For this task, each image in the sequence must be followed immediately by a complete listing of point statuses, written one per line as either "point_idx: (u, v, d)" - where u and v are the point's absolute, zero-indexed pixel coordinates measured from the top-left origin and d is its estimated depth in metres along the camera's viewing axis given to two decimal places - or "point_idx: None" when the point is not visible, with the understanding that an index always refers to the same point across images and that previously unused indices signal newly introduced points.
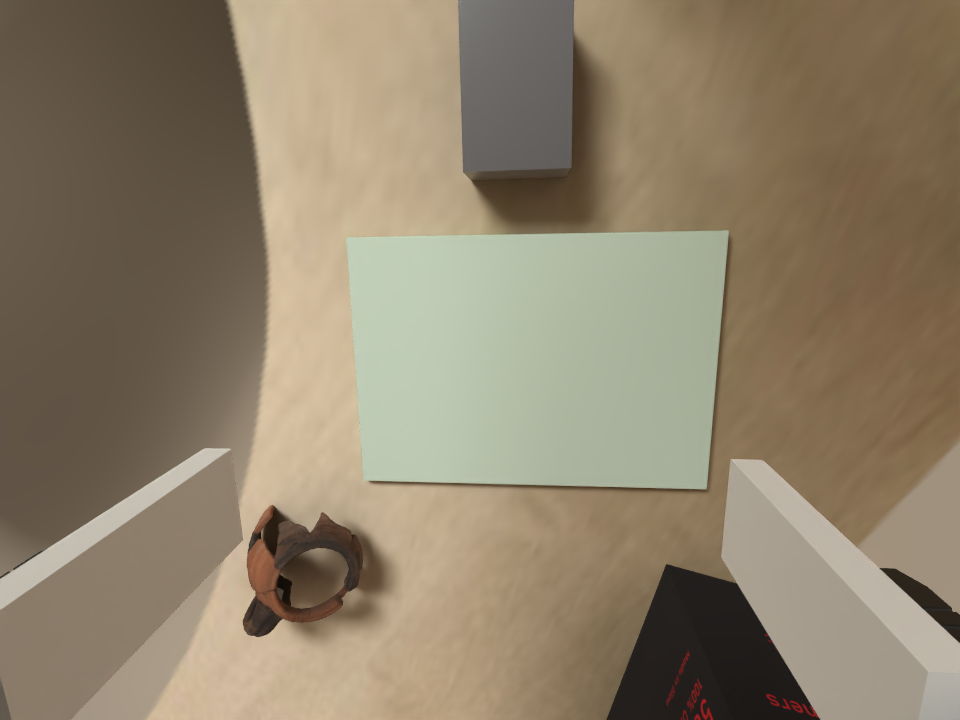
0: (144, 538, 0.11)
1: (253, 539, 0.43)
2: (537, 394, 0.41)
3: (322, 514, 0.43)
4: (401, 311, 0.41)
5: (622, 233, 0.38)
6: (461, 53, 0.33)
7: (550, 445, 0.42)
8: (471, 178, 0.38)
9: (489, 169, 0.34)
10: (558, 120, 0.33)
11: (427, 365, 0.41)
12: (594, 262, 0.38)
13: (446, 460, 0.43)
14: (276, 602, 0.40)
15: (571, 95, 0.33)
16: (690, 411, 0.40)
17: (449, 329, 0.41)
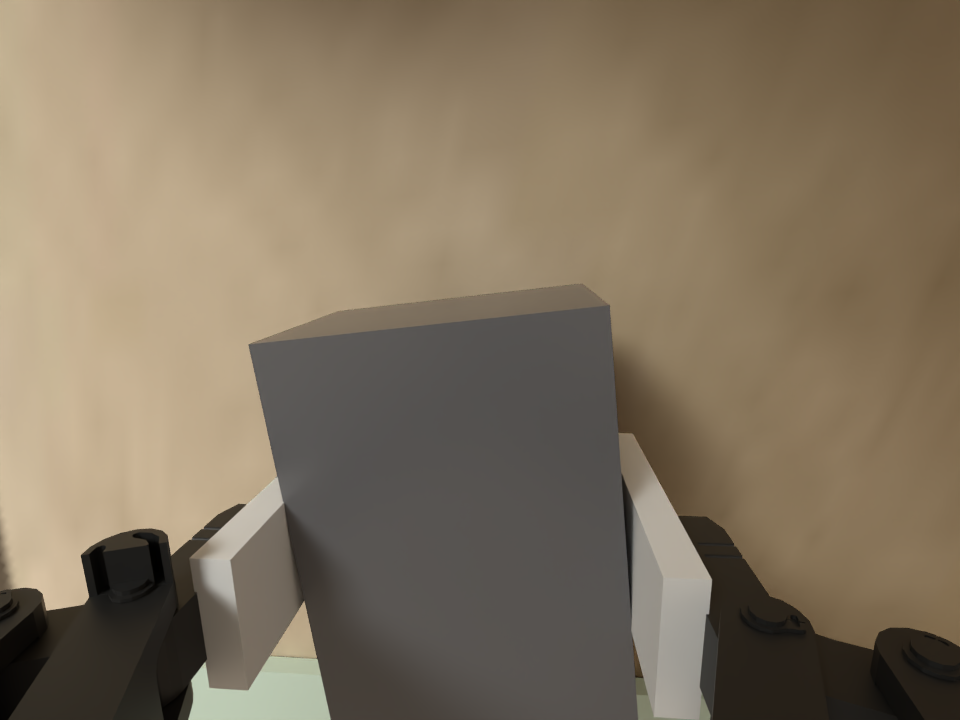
0: None
1: None
2: None
3: None
4: None
5: None
6: (283, 483, 0.11)
7: None
8: None
9: None
10: (591, 643, 0.11)
11: None
12: None
13: None
14: None
15: (625, 583, 0.11)
16: None
17: None
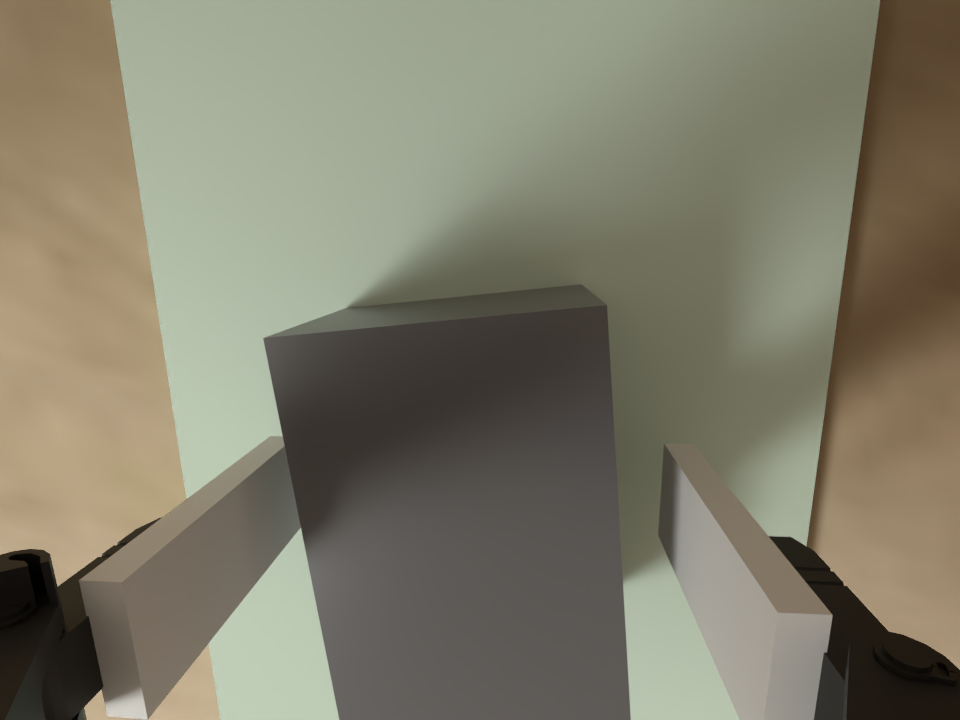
0: (232, 516, 0.12)
1: None
2: None
3: None
4: None
5: (150, 249, 0.16)
6: (294, 471, 0.11)
7: (699, 412, 0.15)
8: None
9: None
10: (585, 627, 0.12)
11: None
12: (222, 312, 0.16)
13: None
14: None
15: (619, 569, 0.11)
16: (610, 12, 0.13)
17: None
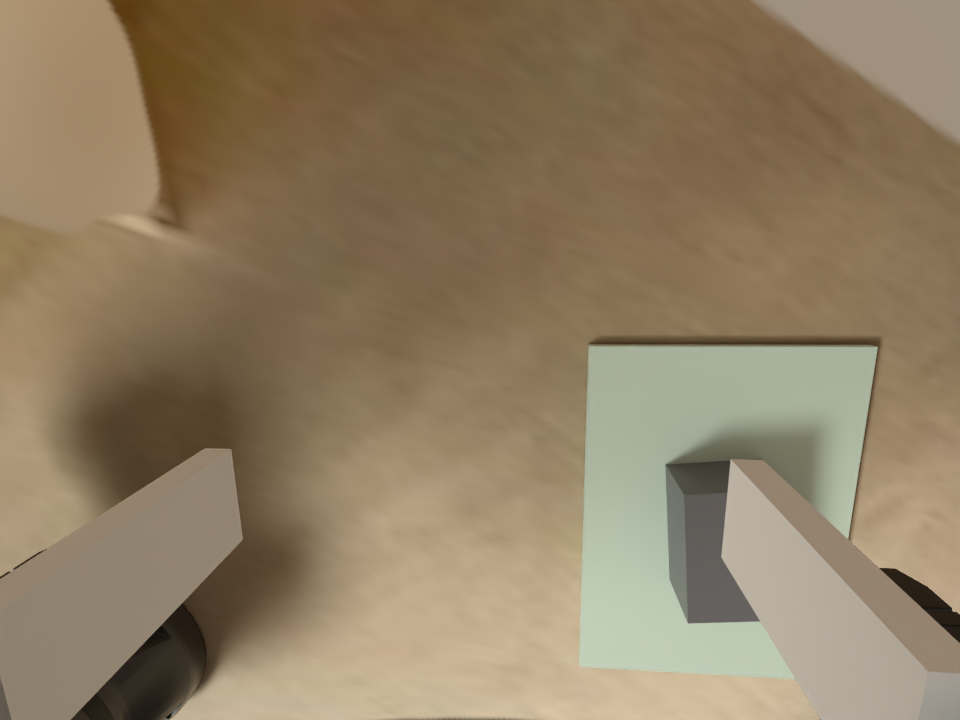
0: (144, 538, 0.11)
1: None
2: None
3: None
4: (650, 629, 0.43)
5: (587, 440, 0.40)
6: (686, 535, 0.36)
7: None
8: None
9: (713, 621, 0.37)
10: None
11: None
12: (613, 464, 0.40)
13: None
14: None
15: None
16: (778, 369, 0.38)
17: (670, 591, 0.42)
